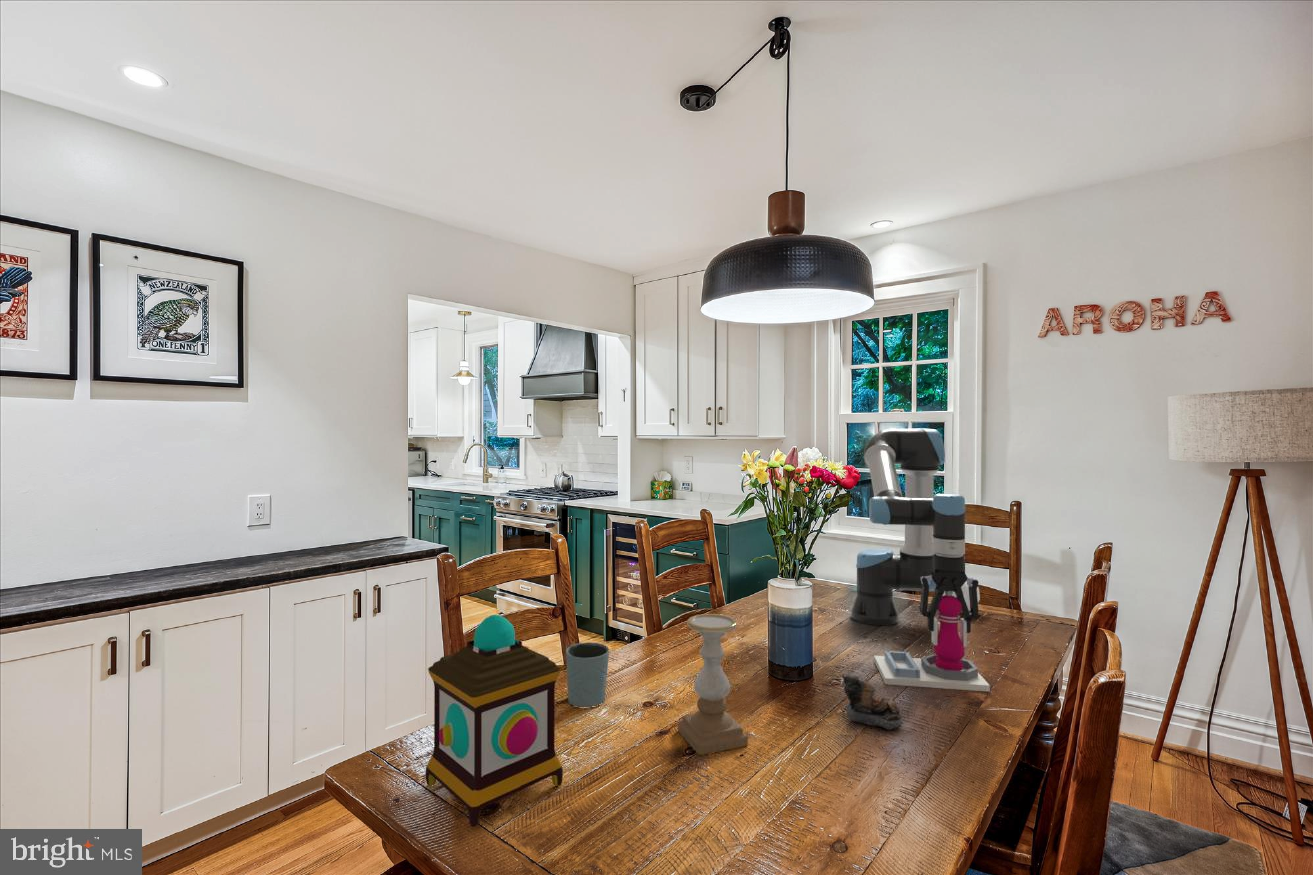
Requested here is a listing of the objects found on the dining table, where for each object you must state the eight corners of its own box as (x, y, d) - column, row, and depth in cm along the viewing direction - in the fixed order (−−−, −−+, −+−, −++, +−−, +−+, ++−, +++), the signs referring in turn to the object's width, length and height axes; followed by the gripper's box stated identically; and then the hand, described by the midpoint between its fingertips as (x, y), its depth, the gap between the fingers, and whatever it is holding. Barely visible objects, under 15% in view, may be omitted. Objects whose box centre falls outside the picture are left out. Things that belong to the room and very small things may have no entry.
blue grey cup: (583, 688, 146) (583, 639, 146) (617, 697, 141) (618, 646, 141) (556, 704, 138) (556, 652, 138) (591, 714, 132) (591, 660, 133)
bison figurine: (901, 722, 129) (901, 675, 129) (903, 737, 123) (903, 688, 123) (843, 713, 133) (843, 668, 133) (842, 728, 127) (841, 680, 127)
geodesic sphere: (996, 602, 204) (980, 565, 212) (959, 603, 202) (944, 566, 210) (974, 618, 215) (959, 582, 223) (939, 619, 213) (925, 583, 222)
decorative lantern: (414, 785, 105) (414, 614, 105) (513, 745, 119) (514, 594, 119) (468, 839, 91) (469, 641, 91) (574, 786, 105) (574, 615, 105)
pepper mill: (957, 662, 157) (957, 586, 157) (969, 673, 150) (969, 593, 150) (929, 661, 158) (929, 585, 158) (939, 672, 151) (939, 592, 151)
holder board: (874, 660, 165) (874, 648, 165) (968, 667, 161) (968, 654, 161) (885, 684, 149) (885, 670, 149) (989, 691, 145) (989, 677, 145)
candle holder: (676, 730, 125) (676, 616, 125) (723, 721, 129) (723, 610, 129) (698, 756, 115) (698, 631, 115) (749, 746, 119) (749, 625, 119)
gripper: (912, 555, 152) (912, 646, 152) (994, 558, 149) (994, 651, 149) (905, 550, 160) (906, 637, 160) (984, 553, 156) (984, 641, 156)
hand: (948, 644), depth 154 cm, fingers closed on pepper mill, 6 cm apart
